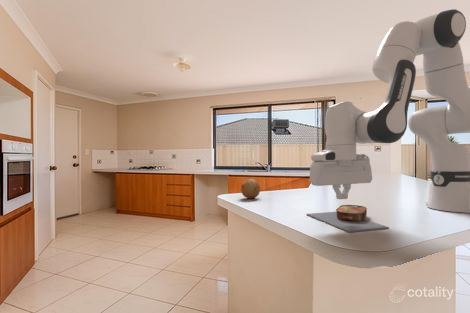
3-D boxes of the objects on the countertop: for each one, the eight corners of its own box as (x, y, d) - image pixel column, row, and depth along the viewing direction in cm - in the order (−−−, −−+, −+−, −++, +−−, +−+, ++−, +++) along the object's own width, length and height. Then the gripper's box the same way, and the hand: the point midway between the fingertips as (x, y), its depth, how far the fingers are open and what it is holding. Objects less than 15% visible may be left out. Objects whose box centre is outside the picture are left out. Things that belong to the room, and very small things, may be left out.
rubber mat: (338, 212, 91) (338, 211, 91) (388, 228, 70) (388, 227, 70) (306, 215, 88) (306, 213, 88) (348, 232, 67) (348, 231, 67)
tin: (363, 214, 75) (333, 209, 79) (362, 224, 75) (332, 219, 79) (368, 206, 87) (342, 202, 92) (367, 215, 87) (342, 210, 92)
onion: (250, 200, 120) (249, 180, 121) (237, 198, 128) (236, 179, 128) (264, 198, 127) (264, 178, 127) (251, 196, 134) (250, 177, 134)
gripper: (361, 154, 84) (363, 195, 84) (306, 155, 79) (307, 199, 79) (376, 153, 78) (377, 198, 78) (317, 155, 73) (318, 202, 73)
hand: (342, 198), depth 78 cm, fingers closed
